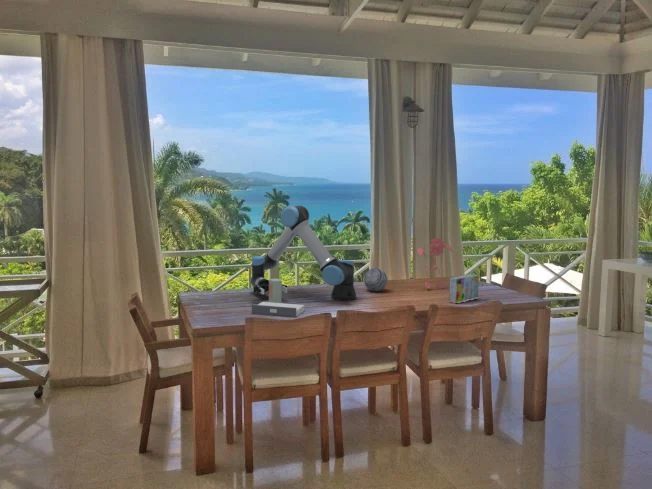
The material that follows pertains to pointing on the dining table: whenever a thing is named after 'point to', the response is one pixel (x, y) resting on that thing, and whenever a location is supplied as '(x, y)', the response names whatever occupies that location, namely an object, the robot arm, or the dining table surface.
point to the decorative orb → (375, 279)
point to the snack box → (463, 287)
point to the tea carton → (275, 290)
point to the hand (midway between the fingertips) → (275, 291)
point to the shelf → (277, 309)
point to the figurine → (437, 249)
